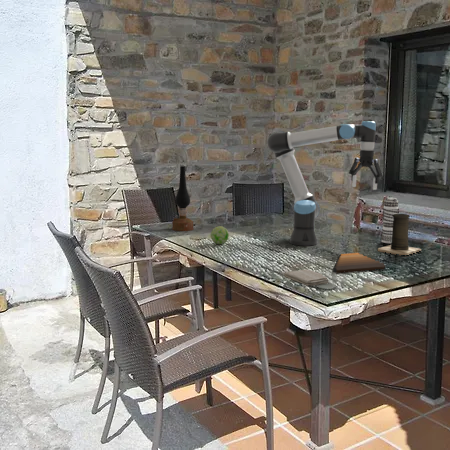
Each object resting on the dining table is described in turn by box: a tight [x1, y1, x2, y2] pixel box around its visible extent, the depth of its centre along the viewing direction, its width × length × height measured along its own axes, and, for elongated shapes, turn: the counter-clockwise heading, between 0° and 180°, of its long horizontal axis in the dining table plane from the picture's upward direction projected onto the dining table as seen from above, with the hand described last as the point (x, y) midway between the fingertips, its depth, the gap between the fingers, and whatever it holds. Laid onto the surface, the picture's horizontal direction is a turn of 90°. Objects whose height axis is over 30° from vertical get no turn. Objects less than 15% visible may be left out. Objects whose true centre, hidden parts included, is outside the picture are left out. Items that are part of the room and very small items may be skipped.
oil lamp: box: [171, 165, 194, 232], centre depth 355 cm, size 14×15×40 cm
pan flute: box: [332, 252, 386, 274], centre depth 270 cm, size 25×3×25 cm
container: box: [390, 213, 410, 250], centre depth 299 cm, size 9×9×18 cm
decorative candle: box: [380, 197, 400, 244], centre depth 323 cm, size 9×9×25 cm
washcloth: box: [284, 268, 330, 287], centre depth 244 cm, size 12×18×3 cm, turn 30°
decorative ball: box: [210, 225, 230, 245], centre depth 313 cm, size 10×10×10 cm
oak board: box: [377, 244, 422, 256], centre depth 300 cm, size 16×16×2 cm
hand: (364, 188), depth 317 cm, fingers open, 13 cm apart
